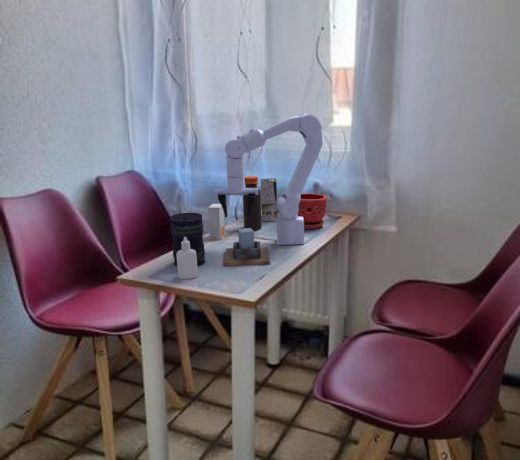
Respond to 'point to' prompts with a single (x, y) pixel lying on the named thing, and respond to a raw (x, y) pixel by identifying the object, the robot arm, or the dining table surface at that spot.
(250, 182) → the vinegar
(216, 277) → the dining table surface
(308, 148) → the robot arm
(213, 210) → the skincare box
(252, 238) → the peg
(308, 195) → the plant pot
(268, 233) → the dining table surface
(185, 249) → the eye dropper bottle
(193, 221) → the storage jar
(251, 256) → the socket
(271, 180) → the coffee box
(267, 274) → the dining table surface
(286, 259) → the dining table surface
